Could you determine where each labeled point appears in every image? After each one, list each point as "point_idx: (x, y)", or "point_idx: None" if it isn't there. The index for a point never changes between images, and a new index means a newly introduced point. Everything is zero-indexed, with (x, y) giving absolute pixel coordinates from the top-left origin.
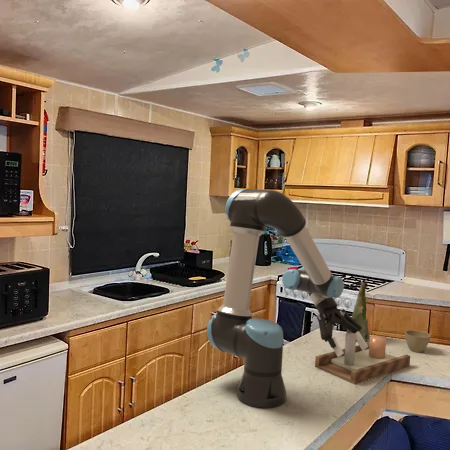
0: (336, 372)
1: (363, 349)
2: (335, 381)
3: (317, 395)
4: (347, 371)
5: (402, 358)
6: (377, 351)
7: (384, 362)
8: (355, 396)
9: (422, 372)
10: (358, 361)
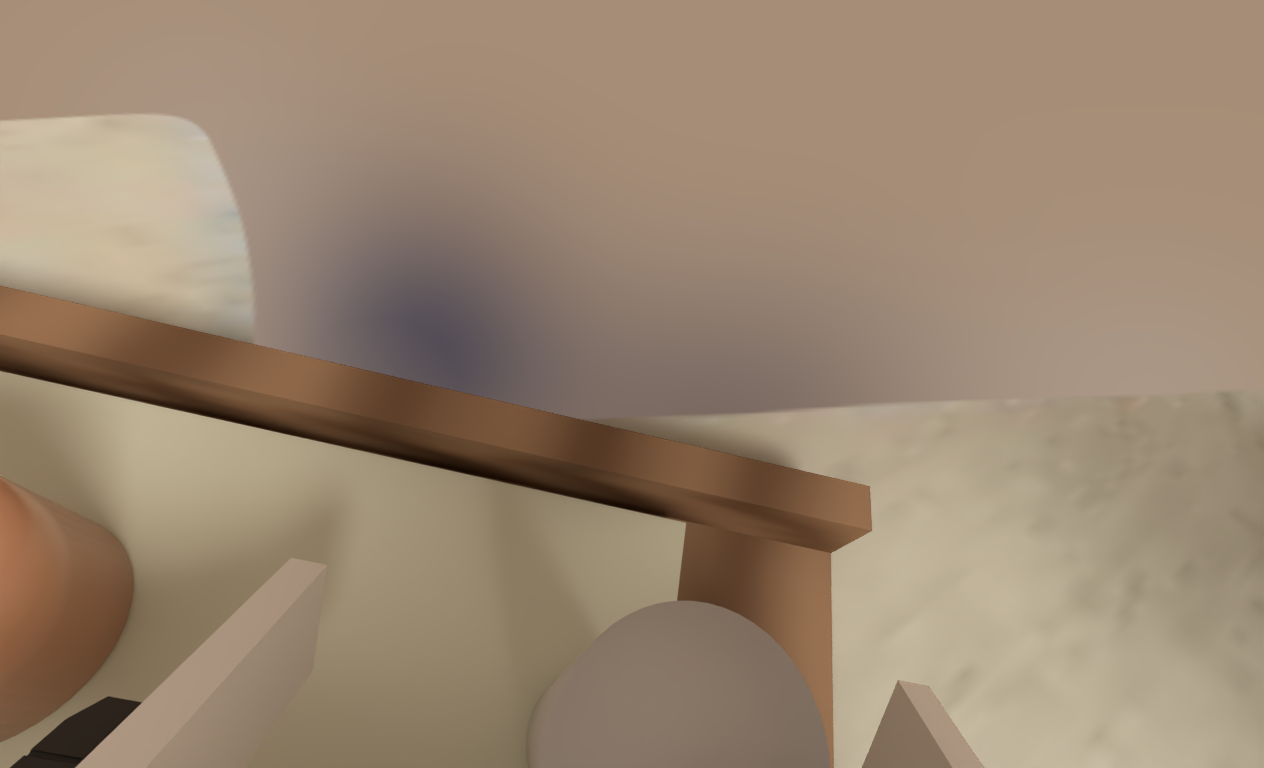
0: None
1: (314, 647)
2: (914, 674)
3: (1208, 621)
4: None
5: (72, 303)
6: (70, 546)
7: (370, 392)
8: (966, 426)
9: (137, 229)
10: (412, 700)
